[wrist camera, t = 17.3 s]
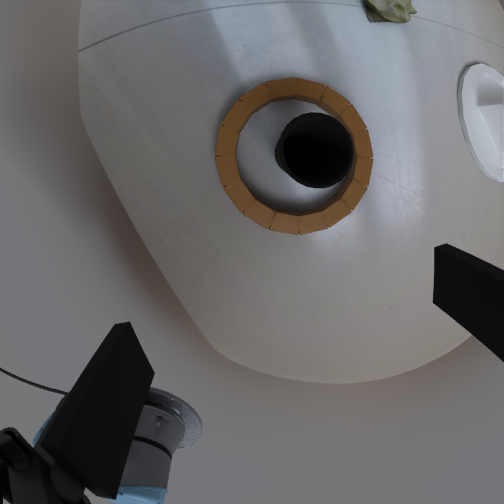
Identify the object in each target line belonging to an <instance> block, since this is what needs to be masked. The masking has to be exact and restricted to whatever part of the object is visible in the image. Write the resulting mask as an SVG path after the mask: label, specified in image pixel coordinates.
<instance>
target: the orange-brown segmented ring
mask: <svg viewBox="0 0 504 504" xmlns="http://www.w3.org/2000/svg"><path fill="white" fill-rule="evenodd" d="M290 99H295V100H299V101H304V102H308V103H312V104H315V105H317V106H318V107H320V108H321V109H323V110H324V111H326V112H327V113H328V114H330V115H331V116H332V117H334V118H335V119H337V120H338V121H339V122H340V123H341V124H342V125H343V126H344V127H345V128H346V130H347V131H348V133H349V135H350V137H351V139H352V142H353V148H354V157H353V162H352V165H351V168H350V170H349V172H348V173H347V177H346V179H345V181H344V182H343V184H342V186H341V187H340V189H339V190H338V192H337V193H336V195H335V196H334V197H333V198H331V199H330V200H328V201H327V202H326V203H324V204H323V205H321V206H320V207H318V208H316V209H312V210H307V211H302V212H298V213H293V212H287V211H281V210H276V209H273V208H271V207H269V206H268V205H266V204H265V203H263V202H261V201H260V200H258V199H257V198H255V197H254V196H253V195H252V193H251V192H250V191H249V189H248V188H247V186H246V185H245V184H244V182H243V181H242V180H241V178H240V174H239V169H238V165H237V161H236V157H235V155H236V149H237V143H238V138H239V133H240V132H241V130H242V128H243V127H244V125H245V124H246V123H247V121H248V120H249V118H250V117H251V115H252V114H254V113H255V112H257V111H258V110H260V109H261V108H263V107H265V106H266V105H268V104H269V103H272V102H277V101H284V100H290ZM349 104H350V102H349V101H348V100H346V99H345V98H344V97H342V96H341V95H340V94H338V93H337V92H335V91H334V90H333V89H331V88H330V87H328V86H326V87H325V85H324V84H320V83H317V82H313V81H309V80H305V79H301V78H297V79H296V80H295V78H287V79H280V80H273V81H267V82H266V84H265V83H262V84H260V85H259V86H257V87H255V88H254V89H252V90H251V91H249V92H247V93H246V94H244V95H243V96H241V97H239V100H237V101H236V102H235V103H234V105H233V106H232V108H231V109H230V111H229V112H228V114H227V115H226V117H225V118H224V120H223V121H222V123H221V124H222V126H220V129H219V134H218V140H217V146H216V151H215V155H216V156H217V157H215V159H216V163H217V167H218V172H219V176H220V180H221V184H222V186H225V187H224V188H223V189H224V190H225V192H226V193H227V194H228V196H229V197H230V198H231V200H232V201H233V203H234V204H235V205H236V207H237V208H238V209H239V211H240V212H242V211H243V215H245V216H247V217H248V218H250V219H252V220H253V221H255V222H256V223H258V224H260V225H261V226H263V227H265V228H266V229H268V228H269V229H270V230H272V231H278V232H284V233H290V234H296V235H298V234H300V235H302V234H306V233H311V232H315V231H319V230H324V229H328V228H327V226H328V227H329V228H330V227H331V226H333V225H334V224H335V223H337V222H338V221H340V220H341V219H343V218H344V217H345V216H347V215H348V214H350V213H351V210H354V209H355V207H356V205H357V204H358V202H359V201H360V199H361V198H362V196H363V195H364V193H365V191H366V190H367V187H366V186H368V185H369V180H370V175H371V170H372V164H373V159H372V158H370V157H373V153H372V147H371V142H370V138H369V133H368V130H365V129H366V128H367V127H366V125H365V124H364V122H363V121H362V119H361V117H360V116H359V114H358V113H357V111H356V110H355V108H354V107H353V105H352V104H351V105H349ZM365 185H366V186H365ZM350 209H351V210H350Z"/></svg>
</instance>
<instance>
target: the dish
mask: <svg viewBox="0 0 504 504" xmlns="http://www.w3.org/2000/svg"><path fill="white" fill-rule="evenodd" d="M457 97H458V108H459V118H460V122H461V126H462V129H463V133H464V137H465V141H466V143H467V145H468V147H469V149H470V152H471V154H472V156H473V158H474V160H475V162H476V163H477V164H478V166H479V167H480V168H481V170H482V171H483V172H484V174H485V175H487V176H489V177H490V178H492V179H493V180H495V181H498V182H504V77H503V76H502V75H501V74H500V73H498V72H497V71H496V70H495V69H494V68H493V67H490V66H487V65H485V64H482V63H480V64H477V65H473V66H470V67H467V68H466V70H465V71H464V73H463V74H462V76H461V77H460V82H459V88H458V93H457Z"/></svg>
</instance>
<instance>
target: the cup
mask: <svg viewBox="0 0 504 504" xmlns="http://www.w3.org/2000/svg"><path fill="white" fill-rule="evenodd" d="M353 157H354V148H353V142H352V139H351V137H350V135H349V133H348V131H347V130H346V128H345V127H344V126H343V125H342V124H341V123H340V122H339V121H338V120H337V119H335V118H333V117H331V116H329V115H326V114H323V113H313V112H311V113H306V114H302V115H300V116H298V117H296V118H294V119H293V120H292V121H291V122H290V123H288V124H287V126H286V127H285V129H284V130H283V132H282V134H281V137H280V139H279V142H278V144H277V146H276V150H275V158H276V161H277V164H278V165H279V167H280V168H281V169H282V170H284V171H285V172H286V173H287V174H288V175H289V176H291V177H292V178H293V179H294V180H295V181H297V182H298V183H300V184H302V185H304V186H306V187H311V188H326V187H330V186H333V185H335V184H336V183H338V182H340V181H341V180H342V179H343V178H344V177H345V176H346V175H347V173H348V172H349V170H350V168H351V165H352V162H353Z"/></svg>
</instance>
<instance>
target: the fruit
mask: <svg viewBox="0 0 504 504" xmlns="http://www.w3.org/2000/svg"><path fill="white" fill-rule="evenodd" d="M365 2H366V5H367V14H368V18H369V21H370V22H394V23H405V22H408V21H409V20H410V16H409V14H416V13H417V12H416V10H415V9H414V8H413V7H412V4H411V0H365Z"/></svg>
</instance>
